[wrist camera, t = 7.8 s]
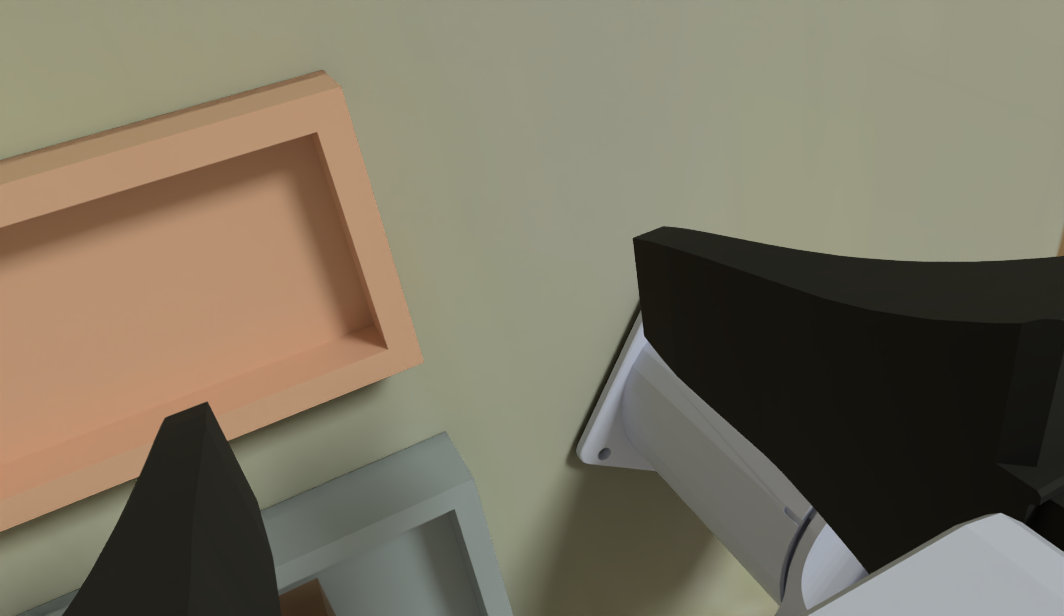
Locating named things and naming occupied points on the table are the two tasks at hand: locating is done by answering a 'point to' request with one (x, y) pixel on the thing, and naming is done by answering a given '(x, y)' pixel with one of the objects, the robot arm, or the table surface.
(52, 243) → the terracotta holder
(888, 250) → the table surface
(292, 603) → the walnut block
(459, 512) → the slate tray
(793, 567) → the robot arm
